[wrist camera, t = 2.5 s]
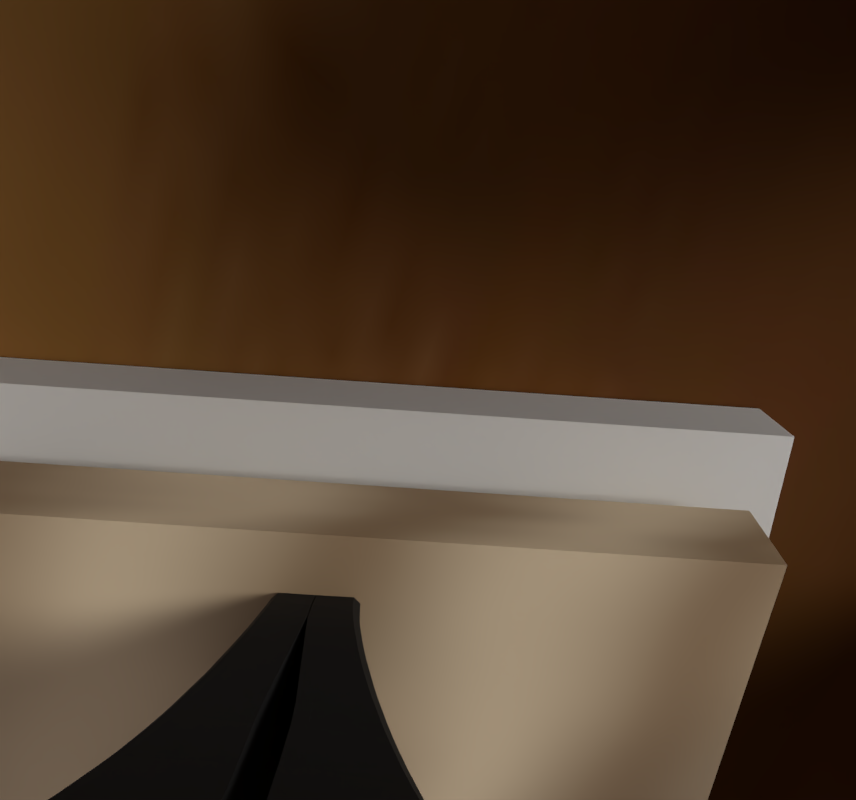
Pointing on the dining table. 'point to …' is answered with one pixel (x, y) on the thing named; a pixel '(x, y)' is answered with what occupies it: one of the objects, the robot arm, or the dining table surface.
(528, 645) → the oak plank
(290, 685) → the robot arm
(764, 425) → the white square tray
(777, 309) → the dining table surface
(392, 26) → the dining table surface
